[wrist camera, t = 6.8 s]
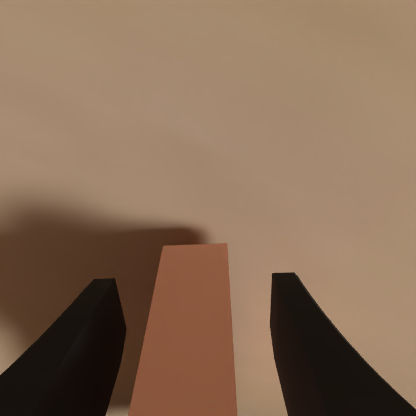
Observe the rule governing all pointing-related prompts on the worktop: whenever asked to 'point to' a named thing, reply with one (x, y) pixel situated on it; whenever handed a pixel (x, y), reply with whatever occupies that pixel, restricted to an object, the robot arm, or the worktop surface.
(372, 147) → the worktop surface
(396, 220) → the worktop surface
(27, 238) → the worktop surface
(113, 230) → the worktop surface
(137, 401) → the salmon pink slab
